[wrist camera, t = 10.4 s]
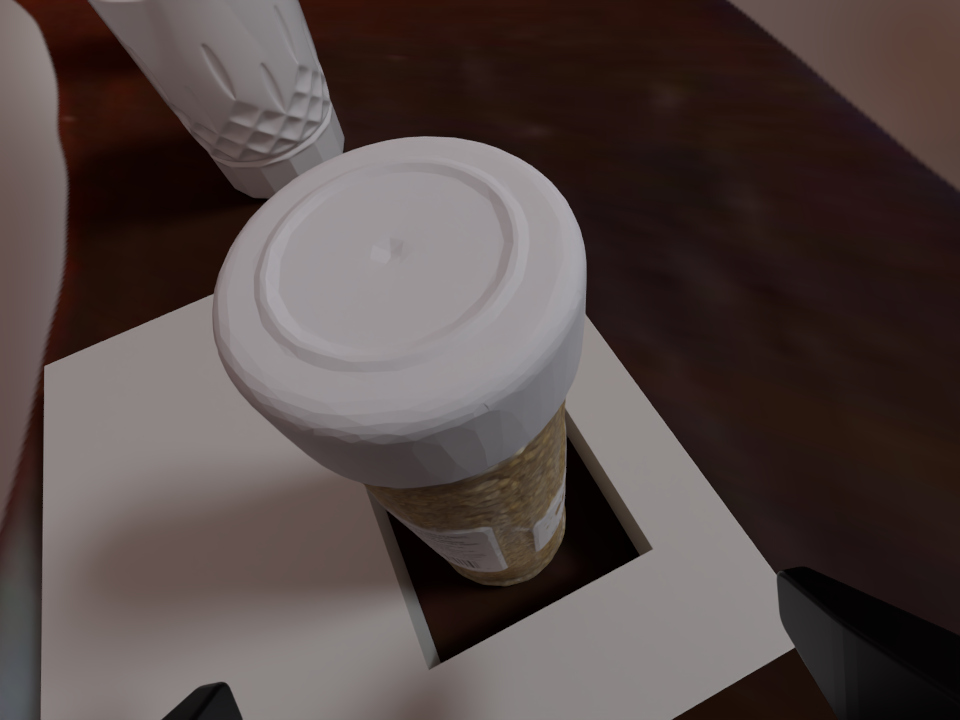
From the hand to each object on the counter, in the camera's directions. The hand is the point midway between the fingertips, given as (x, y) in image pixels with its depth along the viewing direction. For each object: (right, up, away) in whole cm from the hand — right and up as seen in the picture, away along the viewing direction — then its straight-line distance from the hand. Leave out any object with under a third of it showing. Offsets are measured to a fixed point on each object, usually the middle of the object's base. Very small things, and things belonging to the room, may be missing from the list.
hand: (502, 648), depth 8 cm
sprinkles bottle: (0, -1, +9) cm, 10 cm away
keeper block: (-5, 0, +10) cm, 11 cm away
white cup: (-11, +16, +21) cm, 29 cm away
